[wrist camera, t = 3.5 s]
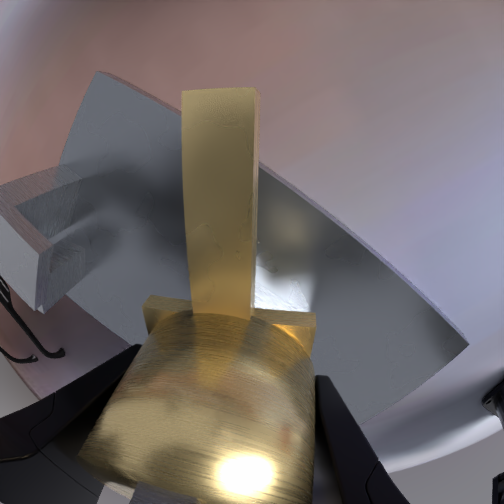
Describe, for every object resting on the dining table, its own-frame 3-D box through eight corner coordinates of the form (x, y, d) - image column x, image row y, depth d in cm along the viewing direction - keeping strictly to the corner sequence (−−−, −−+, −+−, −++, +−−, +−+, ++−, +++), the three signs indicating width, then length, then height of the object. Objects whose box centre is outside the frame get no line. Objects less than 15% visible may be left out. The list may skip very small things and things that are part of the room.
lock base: (463, 334, 10) (502, 409, 6) (327, 431, 14) (326, 499, 10) (109, 73, 8) (7, 62, 3) (47, 262, 12) (-15, 311, 8)
